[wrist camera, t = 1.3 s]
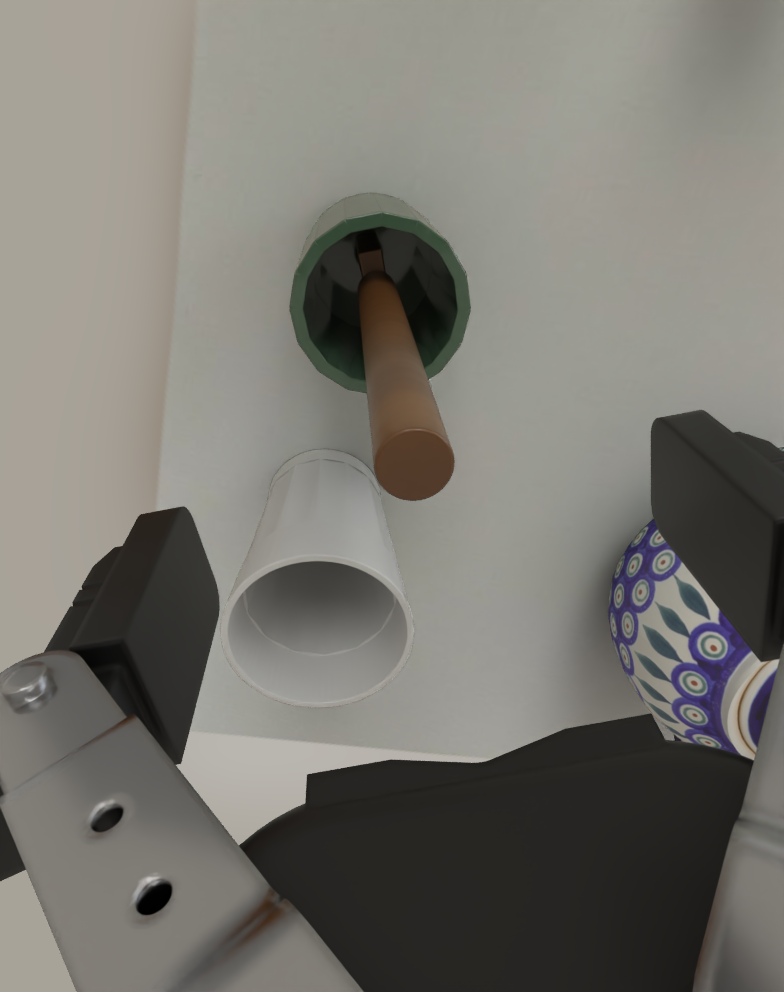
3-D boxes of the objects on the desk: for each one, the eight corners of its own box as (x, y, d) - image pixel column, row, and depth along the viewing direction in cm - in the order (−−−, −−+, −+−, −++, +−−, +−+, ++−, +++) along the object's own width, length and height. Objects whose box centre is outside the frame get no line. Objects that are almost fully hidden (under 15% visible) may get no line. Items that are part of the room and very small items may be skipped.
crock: (288, 208, 32) (270, 233, 24) (428, 180, 32) (457, 196, 24) (320, 346, 35) (313, 408, 27) (448, 321, 35) (479, 376, 27)
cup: (241, 543, 40) (204, 690, 30) (270, 419, 37) (241, 535, 26) (372, 572, 42) (382, 722, 31) (413, 455, 38) (440, 579, 28)
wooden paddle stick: (349, 237, 32) (358, 398, 13) (382, 231, 32) (443, 381, 13) (362, 305, 34) (389, 541, 14) (394, 299, 34) (464, 527, 14)
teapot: (747, 715, 50) (892, 924, 36) (544, 706, 48) (620, 922, 35) (908, 378, 38) (1203, 507, 25) (649, 350, 36) (820, 474, 23)
